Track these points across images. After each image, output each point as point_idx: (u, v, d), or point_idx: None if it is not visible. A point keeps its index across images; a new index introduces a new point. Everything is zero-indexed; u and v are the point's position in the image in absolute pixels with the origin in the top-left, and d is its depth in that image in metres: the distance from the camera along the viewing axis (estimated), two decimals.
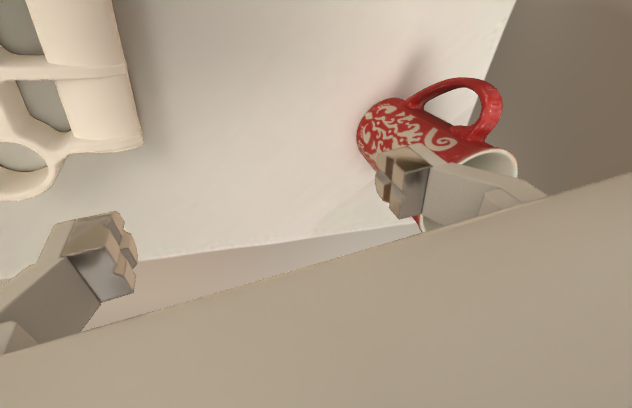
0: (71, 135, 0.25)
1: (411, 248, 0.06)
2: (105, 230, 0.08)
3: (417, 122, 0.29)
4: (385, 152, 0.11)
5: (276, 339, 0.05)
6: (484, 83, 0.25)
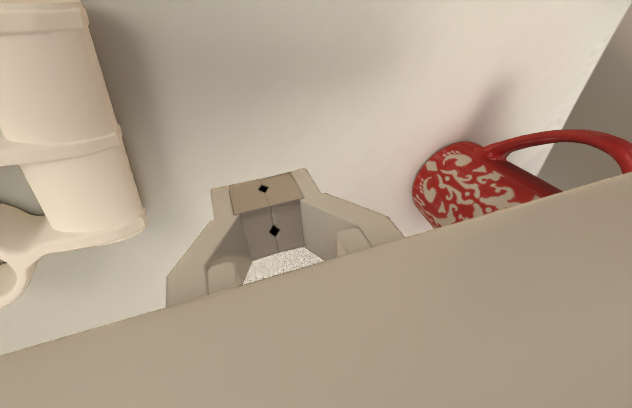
0: (48, 225, 0.18)
1: (411, 248, 0.06)
2: (262, 193, 0.09)
3: (508, 184, 0.22)
4: (262, 180, 0.10)
5: (276, 339, 0.05)
6: (624, 143, 0.18)
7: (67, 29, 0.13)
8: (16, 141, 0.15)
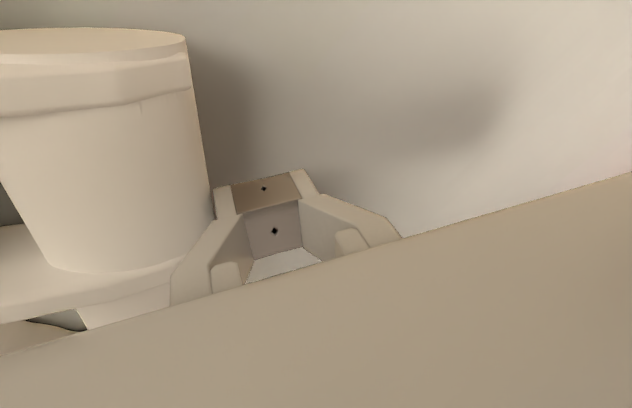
0: None
1: (411, 248, 0.06)
2: (264, 193, 0.09)
3: None
4: (261, 180, 0.10)
5: (276, 339, 0.05)
6: None
7: (168, 91, 0.07)
8: (66, 270, 0.09)
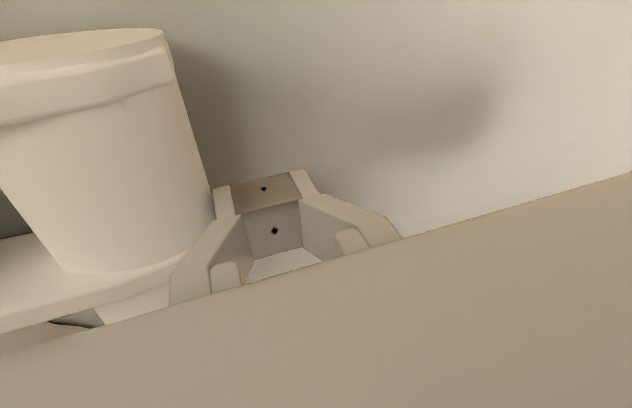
0: None
1: (411, 248, 0.06)
2: (264, 193, 0.09)
3: None
4: (261, 180, 0.10)
5: (276, 339, 0.05)
6: None
7: (149, 87, 0.07)
8: (77, 272, 0.09)
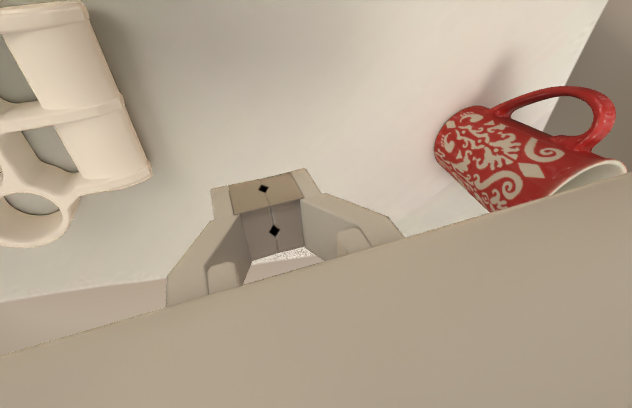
0: (80, 176, 0.24)
1: (411, 248, 0.06)
2: (262, 193, 0.09)
3: (511, 131, 0.29)
4: (262, 180, 0.10)
5: (276, 339, 0.05)
6: (595, 92, 0.24)
7: (74, 22, 0.19)
8: (50, 109, 0.21)
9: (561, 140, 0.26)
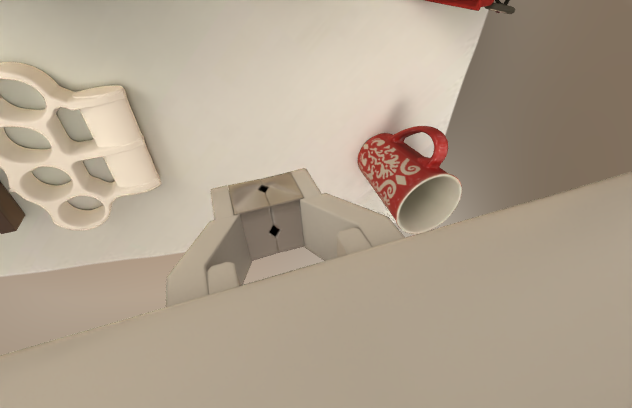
0: (115, 185, 0.39)
1: (411, 248, 0.06)
2: (262, 194, 0.09)
3: (397, 153, 0.44)
4: (262, 179, 0.10)
5: (276, 339, 0.05)
6: (436, 132, 0.39)
7: (119, 99, 0.33)
8: (102, 146, 0.35)
9: (422, 160, 0.41)
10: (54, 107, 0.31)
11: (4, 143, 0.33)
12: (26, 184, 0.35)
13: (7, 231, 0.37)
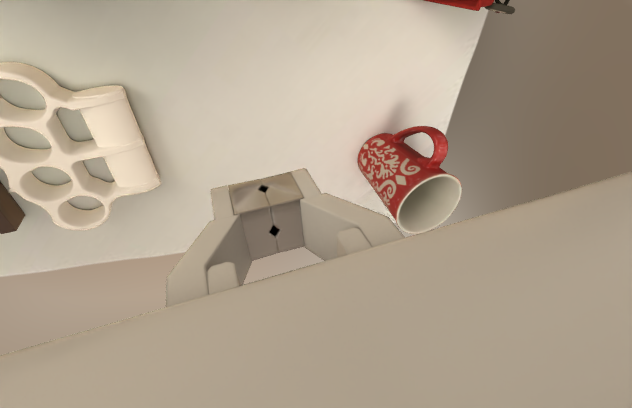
0: (115, 185, 0.39)
1: (411, 248, 0.06)
2: (262, 193, 0.09)
3: (397, 153, 0.44)
4: (262, 180, 0.10)
5: (276, 339, 0.05)
6: (436, 132, 0.39)
7: (119, 99, 0.33)
8: (102, 146, 0.35)
9: (421, 160, 0.41)
10: (54, 108, 0.31)
11: (4, 143, 0.33)
12: (26, 185, 0.35)
13: (7, 231, 0.37)
